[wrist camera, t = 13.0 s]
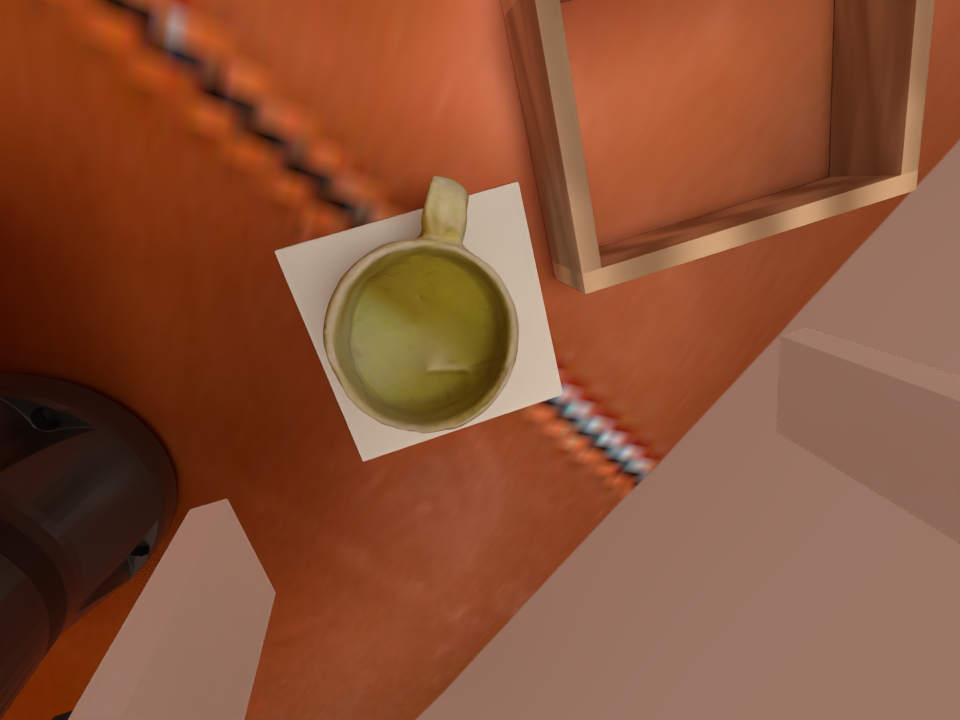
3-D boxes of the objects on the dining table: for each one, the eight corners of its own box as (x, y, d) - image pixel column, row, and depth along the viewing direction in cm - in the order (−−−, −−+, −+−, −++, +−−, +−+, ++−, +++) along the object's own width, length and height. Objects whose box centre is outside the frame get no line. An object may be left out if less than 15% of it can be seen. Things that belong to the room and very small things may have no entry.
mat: (363, 457, 33) (363, 461, 33) (276, 249, 28) (274, 251, 27) (560, 391, 35) (562, 394, 34) (515, 181, 29) (518, 181, 29)
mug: (489, 450, 30) (468, 467, 20) (345, 389, 31) (259, 378, 21) (559, 272, 30) (573, 203, 21) (416, 221, 32) (365, 134, 22)
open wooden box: (555, 278, 32) (859, 431, 12) (496, -20, 26) (940, -778, 6) (843, 189, 34) (1507, 191, 14) (855, -106, 28) (2101, -868, 8)
